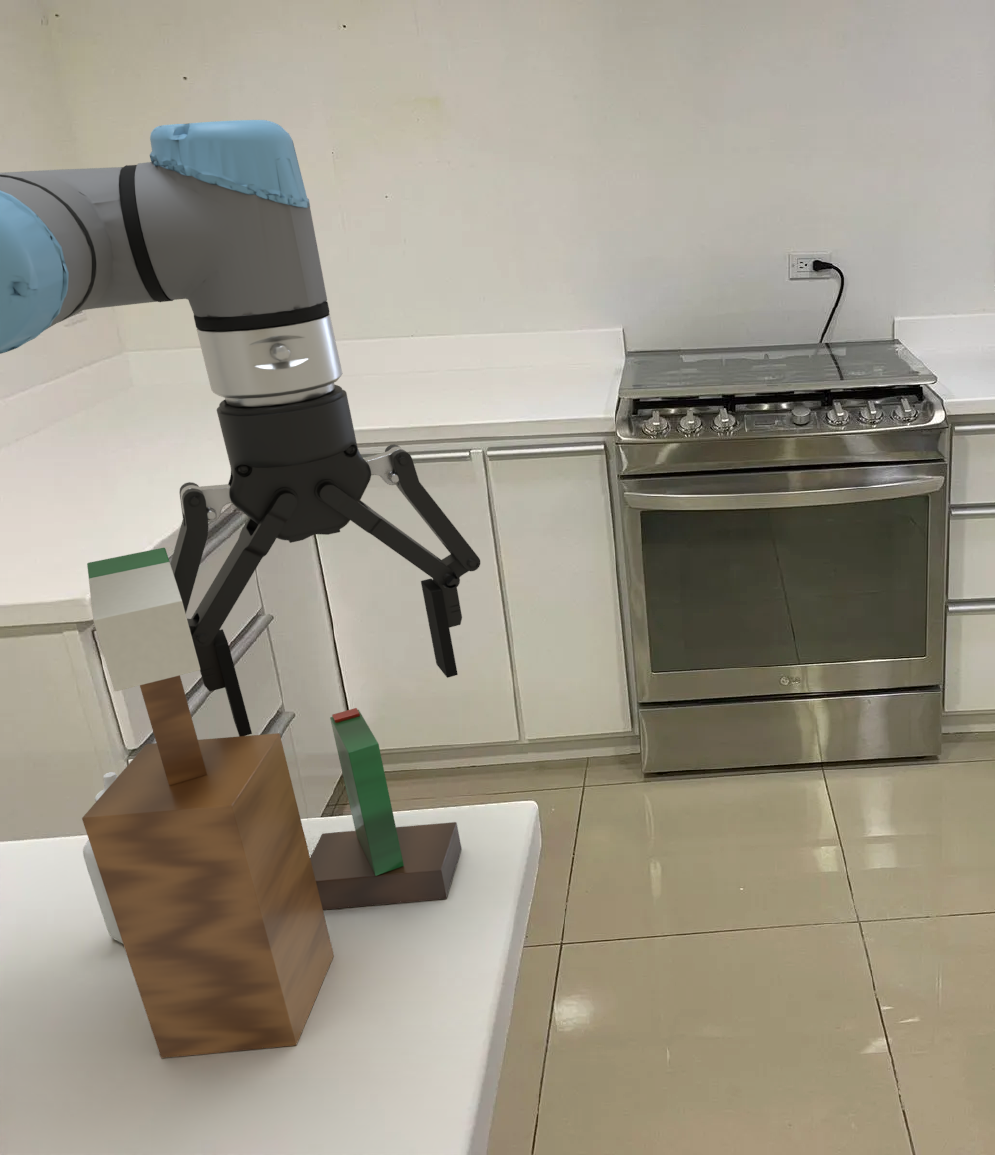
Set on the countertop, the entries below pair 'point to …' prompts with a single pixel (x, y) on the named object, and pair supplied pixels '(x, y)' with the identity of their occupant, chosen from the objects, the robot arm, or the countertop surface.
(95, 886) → the eye dropper bottle
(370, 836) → the green carton
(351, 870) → the dark brown block
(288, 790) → the stand
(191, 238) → the robot arm
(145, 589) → the white green block
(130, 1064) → the countertop surface
